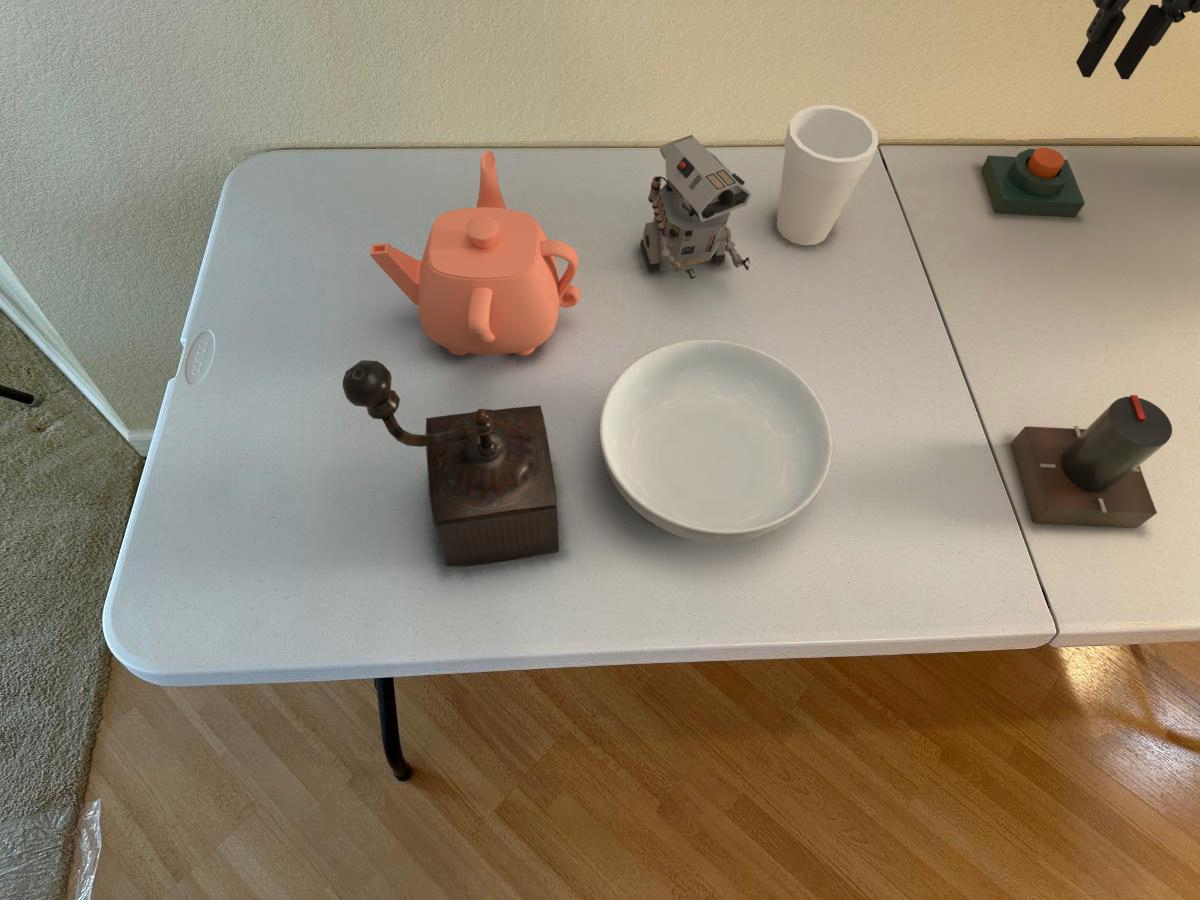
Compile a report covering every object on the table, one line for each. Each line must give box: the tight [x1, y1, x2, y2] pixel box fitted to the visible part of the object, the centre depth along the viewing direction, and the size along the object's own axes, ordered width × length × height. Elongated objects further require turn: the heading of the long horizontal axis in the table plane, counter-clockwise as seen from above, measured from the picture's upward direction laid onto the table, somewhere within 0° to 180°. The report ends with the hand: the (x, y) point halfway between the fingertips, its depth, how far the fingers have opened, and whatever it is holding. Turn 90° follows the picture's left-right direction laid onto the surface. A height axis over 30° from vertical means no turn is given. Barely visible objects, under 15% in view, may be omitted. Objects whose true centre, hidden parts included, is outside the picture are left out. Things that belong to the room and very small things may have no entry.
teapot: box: [369, 150, 581, 357], centre depth 81 cm, size 16×17×14 cm
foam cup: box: [776, 104, 879, 246], centre depth 91 cm, size 10×9×13 cm
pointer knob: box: [1062, 394, 1173, 492], centre depth 73 cm, size 5×5×8 cm
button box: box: [980, 148, 1086, 218], centre depth 99 cm, size 10×8×4 cm
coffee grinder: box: [341, 359, 560, 568], centre depth 67 cm, size 16×11×18 cm
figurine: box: [639, 134, 753, 280], centre depth 85 cm, size 9×12×15 cm
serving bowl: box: [598, 339, 833, 544], centre depth 75 cm, size 21×21×7 cm
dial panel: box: [1010, 425, 1158, 529], centre depth 77 cm, size 10×9×3 cm
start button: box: [1027, 147, 1065, 178], centre depth 97 cm, size 4×4×2 cm
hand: (1102, 70), depth 87 cm, fingers open, 3 cm apart
